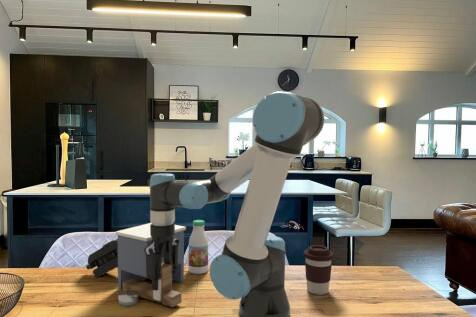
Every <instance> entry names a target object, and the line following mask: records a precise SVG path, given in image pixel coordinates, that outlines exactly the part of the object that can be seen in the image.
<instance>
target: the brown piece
mask: <svg viewBox="0 0 476 317" xmlns="http://www.w3.org/2000/svg"><path fill="white" fill-rule="evenodd" d="M159 279H161V300H160V301H158V300H155V299H153V290H152V283H149V282H146V281H139V280H136V279H130V280H127V281H125V282H123V289H122V292H124V291H130V290H132V291H137V292H138V298H139V297H140V298H143V299H146V300H149V301H152V302H155V303H158V304H162V305H164V306H167V307H170V308H174V307H176V306H178V305H179V304H181V303H182V292H179V291H176V290H173V289H172V288H173V282H172V265H169V264H165V263H161V270H160V277H159Z"/></svg>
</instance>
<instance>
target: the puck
mask: <svg viewBox="0 0 476 317" xmlns="http://www.w3.org/2000/svg"><path fill="white" fill-rule="evenodd" d="M117 296H118V297H117V298H118V302H117V303H118V306H120V307H122V308H129V307H134V306H136V305H137V304H138V303H139V296H138V292H137V291H132V290H130V291H121V292H119V294H118V295H117Z"/></svg>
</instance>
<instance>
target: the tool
mask: <svg viewBox="0 0 476 317" xmlns="http://www.w3.org/2000/svg"><path fill="white" fill-rule="evenodd" d="M86 262H87V265H86V266H85V268H86V270H88V271H89V270H92V269H93V270H92V274H93V276H94V277H95V278H99V277H101V276H103V275H105V274H107V273H109V272H111V271H112V270H115V269H116V268H117V269H118V238H116V239H112V240H110V241H108V242H107V243H104V244H103V245H102V246H101V247H100V248H99V249H97V250H96V251H94V252H92V253H91V254H89V255H88V257H87V261H86Z"/></svg>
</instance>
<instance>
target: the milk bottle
mask: <svg viewBox="0 0 476 317" xmlns="http://www.w3.org/2000/svg"><path fill="white" fill-rule="evenodd" d="M192 227H193V228H192V232H191V235H190V236H189V240H188V263H187V264H188V267H187V268H188V272H189V273H190V274H193V275H202V274H203V275H204V274H205V273H207V272H208V270H209V239H208V236H207V234H206V231H205V220H203V219H196V220H193V221H192Z"/></svg>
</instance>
